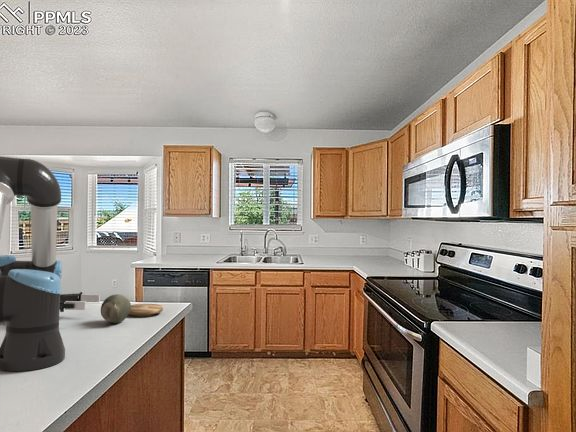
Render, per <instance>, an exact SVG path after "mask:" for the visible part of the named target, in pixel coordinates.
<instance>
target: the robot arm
mask: <svg viewBox="0 0 576 432" xmlns="http://www.w3.org/2000/svg"><path fill="white" fill-rule="evenodd" d="M15 197H26V201H27V203H28V204H29V205H30V230H31V231H30V237H31V238H30V240H31V242H30V243H31V245H30V246H31V260H17V258H16V256H15V255H11V254H10V255H9V254H7V255H6V254H5V255H3V254H1V255H0V324H1V323H5V325H6V326H5V334H4V338H3V339H2V342H1V344H0V370H1V371H5V372H26V371H27V372H28V371H33V370H34V371H35V370H40V369H45V368H48V367H52V366H55V365H57V364H60V363H61V362H63V361H64V360H65V358H66V347H65V343H64V341H63V338H62V334H61V332H60V313H64V311H66V310H67V311H68V310H70V311H71V310H72V311H74V310H75V311H85V310H86V309H87V307H86V306H87V303H100V300H101V294H86V293H85V294H83V292H81V291H80V292H79V293H63V294H62V290H61V287H62V286H61V284H62V283H61V279H62V272H63V271H62V269H63V262H62V261H61V260H57V238H58V236H57V235H58V232H57V231H58V230H57V229H58V205H60V204H61V203H62V191H61V186H60V184H59V182H58V179H57V178H56V176H55V175H54V174H53V172H52V171H51V170H50V169H49V168H48V167H47V166H46V165H45V164H43V163H41V162H39V161H37V160H34V159H31V158H19V157H18V158H17V157H9V156H0V239H1V237H2V232H3V225H4V221H5V214H6V209H7V205H9V204H10V203H12V202H13V200H14V198H15Z"/></svg>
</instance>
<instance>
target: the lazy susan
mask: <svg viewBox="0 0 576 432" xmlns="http://www.w3.org/2000/svg"><path fill="white" fill-rule="evenodd" d="M163 311H164V306H163V305H161V304H157V303H135V304H131V310H130V313H129V314H128V315H130V314H136V315H144V314H154V313H156V314H159V313H161V312H163Z"/></svg>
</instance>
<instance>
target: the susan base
mask: <svg viewBox="0 0 576 432" xmlns="http://www.w3.org/2000/svg"><path fill="white" fill-rule="evenodd" d="M129 315H130V316H131V317H140V318H141V317H151V316H154V315H157V313H154V314H144V315H136V314H129Z"/></svg>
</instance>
